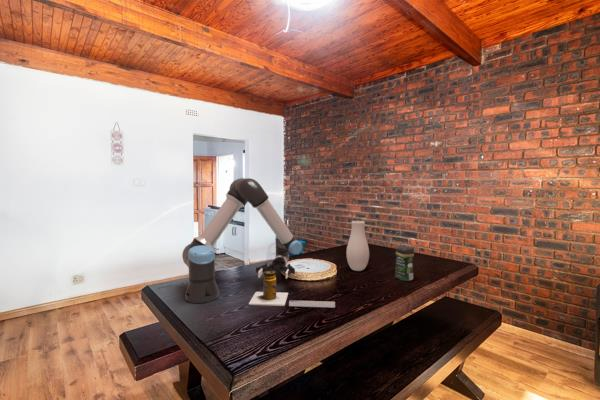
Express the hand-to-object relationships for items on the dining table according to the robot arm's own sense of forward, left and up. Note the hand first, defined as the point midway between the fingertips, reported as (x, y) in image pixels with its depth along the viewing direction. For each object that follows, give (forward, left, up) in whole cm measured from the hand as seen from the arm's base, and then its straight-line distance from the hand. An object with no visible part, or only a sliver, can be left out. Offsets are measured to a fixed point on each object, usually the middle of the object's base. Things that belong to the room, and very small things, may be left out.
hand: (272, 275), depth 146 cm
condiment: (-1, -8, -8) cm, 11 cm away
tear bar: (+20, -14, -9) cm, 26 cm away
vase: (+46, +41, -9) cm, 62 cm away
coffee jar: (+70, +26, -9) cm, 75 cm away
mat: (0, -8, -9) cm, 12 cm away
